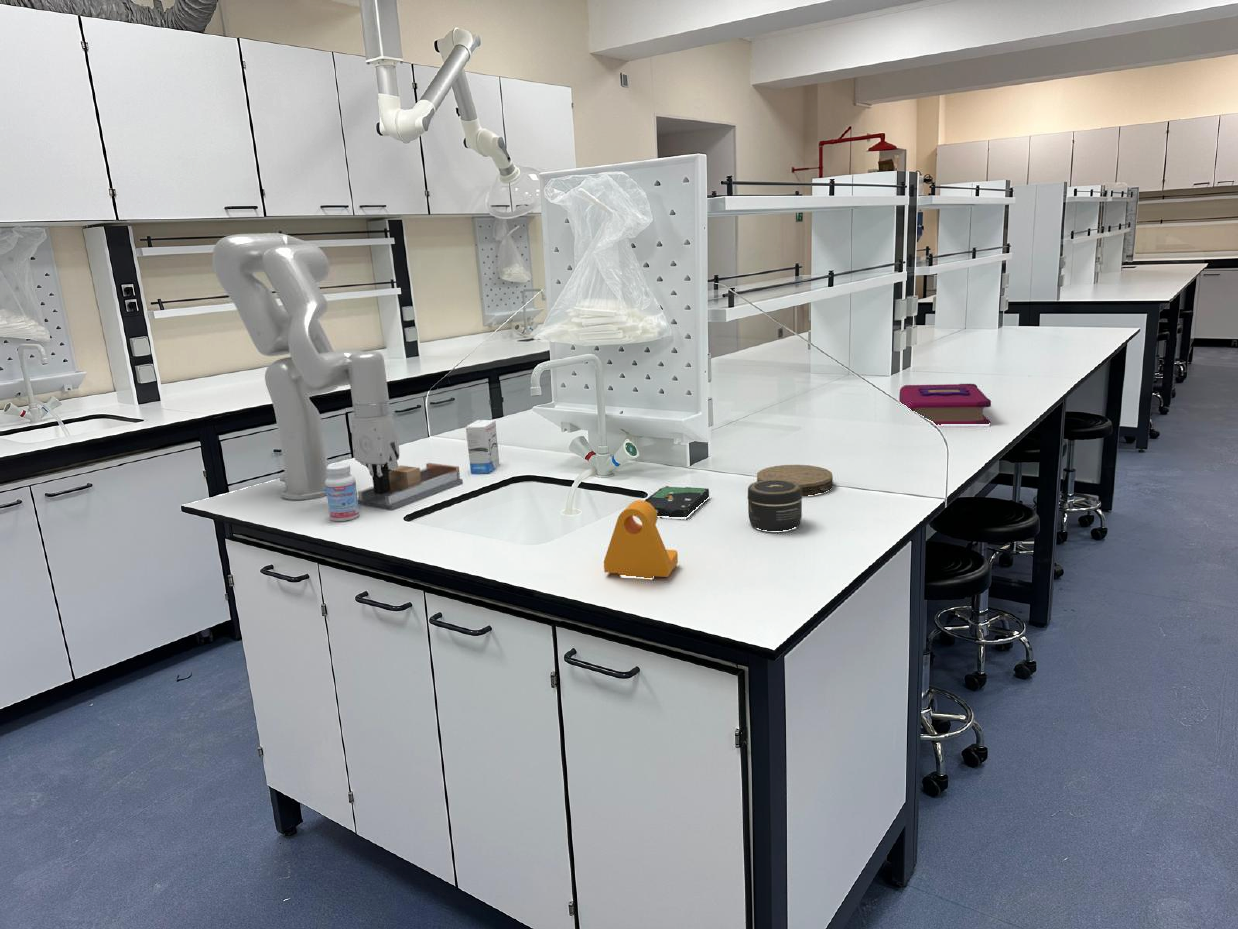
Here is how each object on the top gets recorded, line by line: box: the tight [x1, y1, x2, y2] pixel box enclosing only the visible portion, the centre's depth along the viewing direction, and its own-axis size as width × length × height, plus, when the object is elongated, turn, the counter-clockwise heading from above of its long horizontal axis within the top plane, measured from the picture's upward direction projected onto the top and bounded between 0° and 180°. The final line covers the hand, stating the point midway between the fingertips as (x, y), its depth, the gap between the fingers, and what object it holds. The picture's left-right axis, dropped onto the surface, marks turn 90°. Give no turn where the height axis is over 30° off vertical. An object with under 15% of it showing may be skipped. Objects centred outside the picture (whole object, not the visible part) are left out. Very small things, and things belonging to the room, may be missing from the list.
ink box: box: [465, 419, 501, 475], centre depth 213 cm, size 9×5×12 cm, turn 168°
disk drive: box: [644, 485, 710, 517], centre depth 176 cm, size 10×3×15 cm
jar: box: [747, 480, 803, 531], centre depth 161 cm, size 10×10×8 cm
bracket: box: [603, 499, 679, 578], centre depth 142 cm, size 11×7×12 cm, turn 71°
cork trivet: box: [756, 464, 834, 496], centre depth 185 cm, size 16×16×3 cm
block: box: [389, 465, 421, 492], centre depth 194 cm, size 6×4×5 cm, turn 57°
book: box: [898, 383, 992, 425], centre depth 243 cm, size 21×28×8 cm
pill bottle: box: [325, 462, 360, 522], centre depth 180 cm, size 6×6×11 cm
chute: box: [357, 462, 464, 511], centre depth 196 cm, size 11×22×4 cm, turn 147°
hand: (382, 492), depth 189 cm, fingers closed
